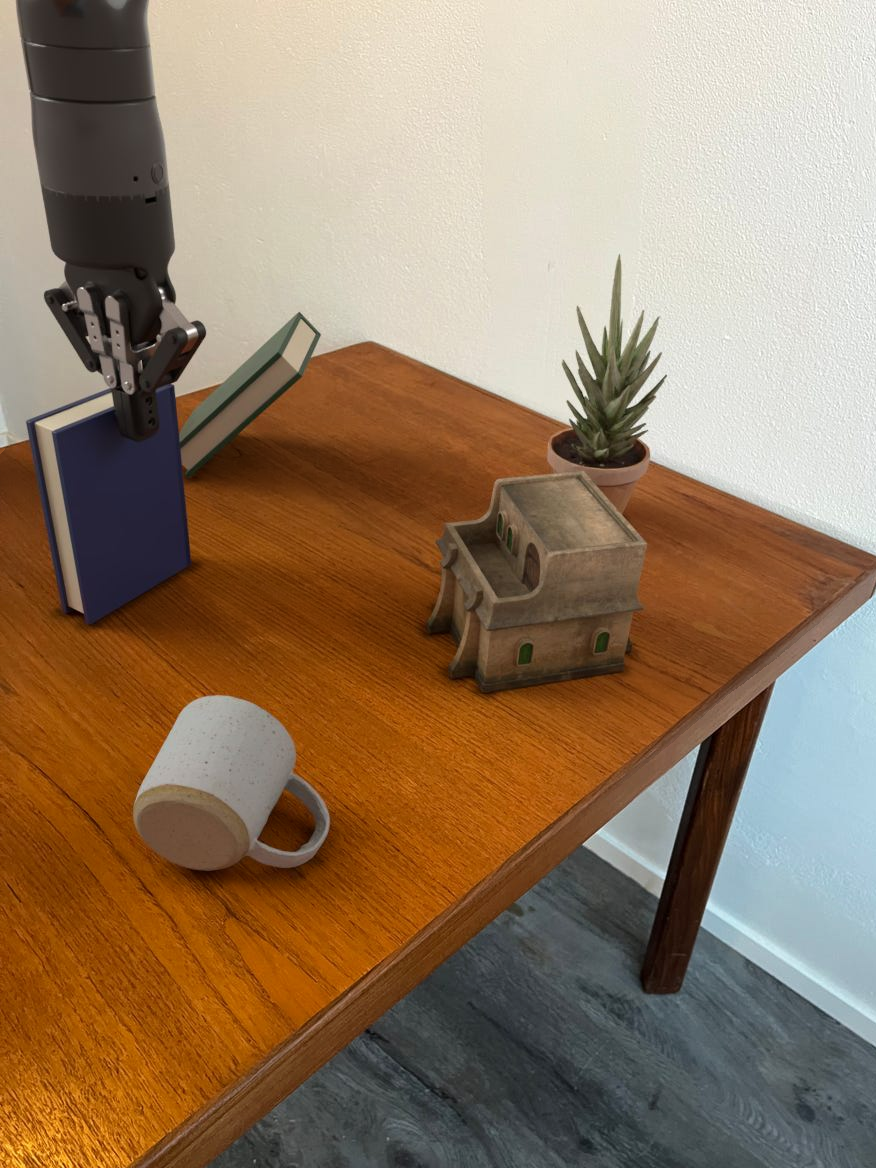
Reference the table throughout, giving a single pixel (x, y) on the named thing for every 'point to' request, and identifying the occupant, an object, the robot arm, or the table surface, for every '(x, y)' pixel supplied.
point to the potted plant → (609, 409)
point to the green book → (247, 392)
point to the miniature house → (539, 584)
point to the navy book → (110, 502)
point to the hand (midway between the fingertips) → (139, 436)
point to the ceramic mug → (223, 788)
